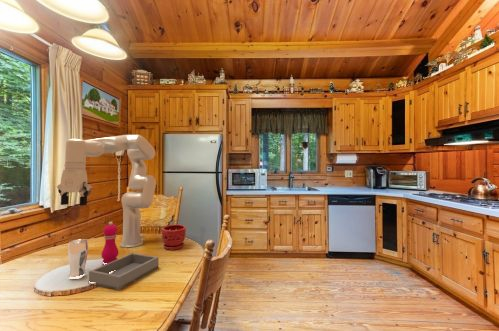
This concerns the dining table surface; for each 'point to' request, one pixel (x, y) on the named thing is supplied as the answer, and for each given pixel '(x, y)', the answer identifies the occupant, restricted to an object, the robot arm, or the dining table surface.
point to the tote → (123, 271)
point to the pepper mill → (110, 244)
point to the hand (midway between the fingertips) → (73, 205)
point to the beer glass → (77, 256)
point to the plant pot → (173, 236)
